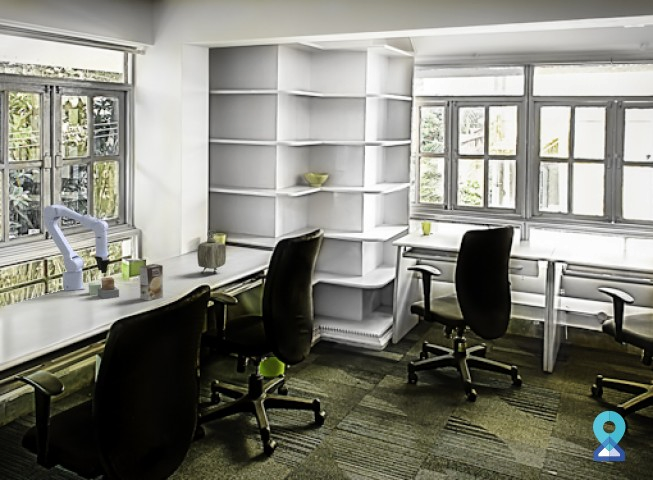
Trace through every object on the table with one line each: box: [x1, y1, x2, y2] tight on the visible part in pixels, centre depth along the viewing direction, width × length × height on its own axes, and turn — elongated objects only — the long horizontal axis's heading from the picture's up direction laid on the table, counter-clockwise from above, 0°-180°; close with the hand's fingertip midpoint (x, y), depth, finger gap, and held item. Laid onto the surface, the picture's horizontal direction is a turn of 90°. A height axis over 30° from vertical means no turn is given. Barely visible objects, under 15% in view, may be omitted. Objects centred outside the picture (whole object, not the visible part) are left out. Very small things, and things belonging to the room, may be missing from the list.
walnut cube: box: [100, 276, 115, 290], centre depth 352 cm, size 5×5×5 cm
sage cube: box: [88, 282, 102, 296], centre depth 357 cm, size 5×5×5 cm
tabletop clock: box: [196, 229, 227, 275], centre depth 405 cm, size 14×9×25 cm, turn 145°
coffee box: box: [139, 263, 164, 302], centre depth 350 cm, size 9×6×16 cm
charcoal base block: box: [97, 286, 120, 300], centre depth 353 cm, size 8×8×4 cm
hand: (102, 271), depth 364 cm, fingers open, 7 cm apart
